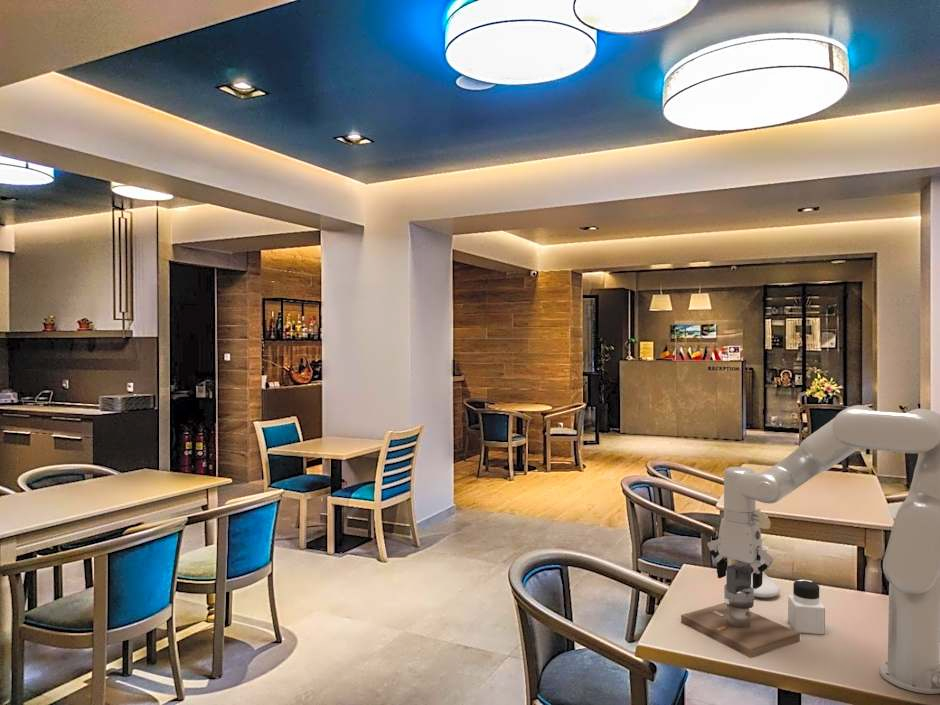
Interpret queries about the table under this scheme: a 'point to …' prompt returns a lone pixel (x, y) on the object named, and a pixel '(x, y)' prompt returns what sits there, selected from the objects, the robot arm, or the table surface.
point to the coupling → (739, 586)
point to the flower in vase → (768, 585)
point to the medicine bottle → (806, 608)
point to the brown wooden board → (740, 629)
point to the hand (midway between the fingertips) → (738, 582)
